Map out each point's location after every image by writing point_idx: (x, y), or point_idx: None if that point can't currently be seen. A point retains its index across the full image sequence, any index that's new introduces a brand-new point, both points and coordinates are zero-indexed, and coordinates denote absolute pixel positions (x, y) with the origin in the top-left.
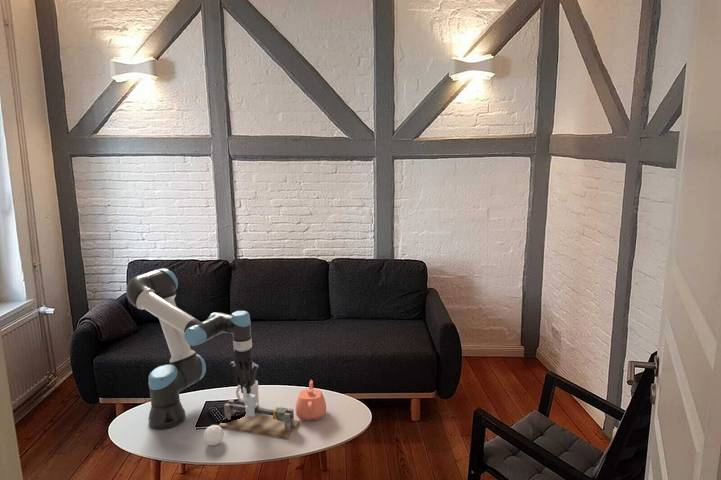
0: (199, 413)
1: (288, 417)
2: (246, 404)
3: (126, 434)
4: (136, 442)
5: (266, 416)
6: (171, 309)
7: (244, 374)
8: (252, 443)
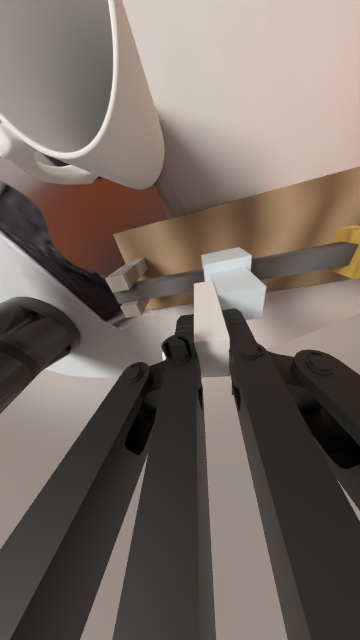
0: (56, 283)
1: None
2: (131, 187)
3: (56, 366)
4: (86, 372)
5: (247, 204)
6: None
7: (199, 558)
8: (254, 321)
